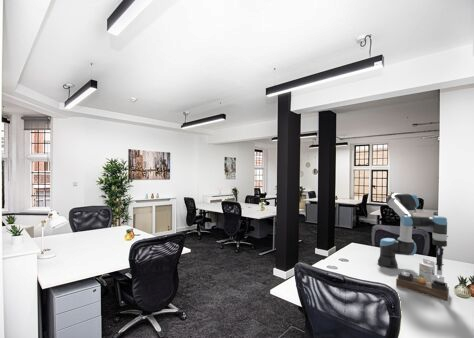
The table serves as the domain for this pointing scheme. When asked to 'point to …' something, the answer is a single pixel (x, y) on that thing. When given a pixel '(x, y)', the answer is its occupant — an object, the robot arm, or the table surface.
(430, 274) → the ink box
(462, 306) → the table surface
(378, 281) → the table surface
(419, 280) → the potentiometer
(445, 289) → the brown long low box
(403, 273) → the knob
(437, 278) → the knob
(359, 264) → the table surface
